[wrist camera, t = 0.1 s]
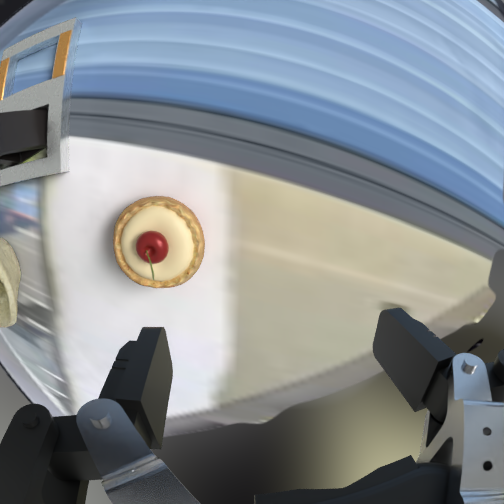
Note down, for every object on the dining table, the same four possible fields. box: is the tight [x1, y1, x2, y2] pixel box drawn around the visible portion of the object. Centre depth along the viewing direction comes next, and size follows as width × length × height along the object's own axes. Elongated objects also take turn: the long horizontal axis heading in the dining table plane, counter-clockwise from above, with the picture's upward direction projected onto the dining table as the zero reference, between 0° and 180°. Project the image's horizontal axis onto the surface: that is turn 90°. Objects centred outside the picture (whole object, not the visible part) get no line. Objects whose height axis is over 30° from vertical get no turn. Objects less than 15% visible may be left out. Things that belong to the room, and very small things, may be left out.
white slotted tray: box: [0, 18, 82, 186], centre depth 27 cm, size 25×16×3 cm, turn 0°
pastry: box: [113, 196, 205, 288], centre depth 33 cm, size 12×12×9 cm
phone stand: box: [0, 109, 48, 167], centre depth 24 cm, size 9×6×12 cm, turn 104°
